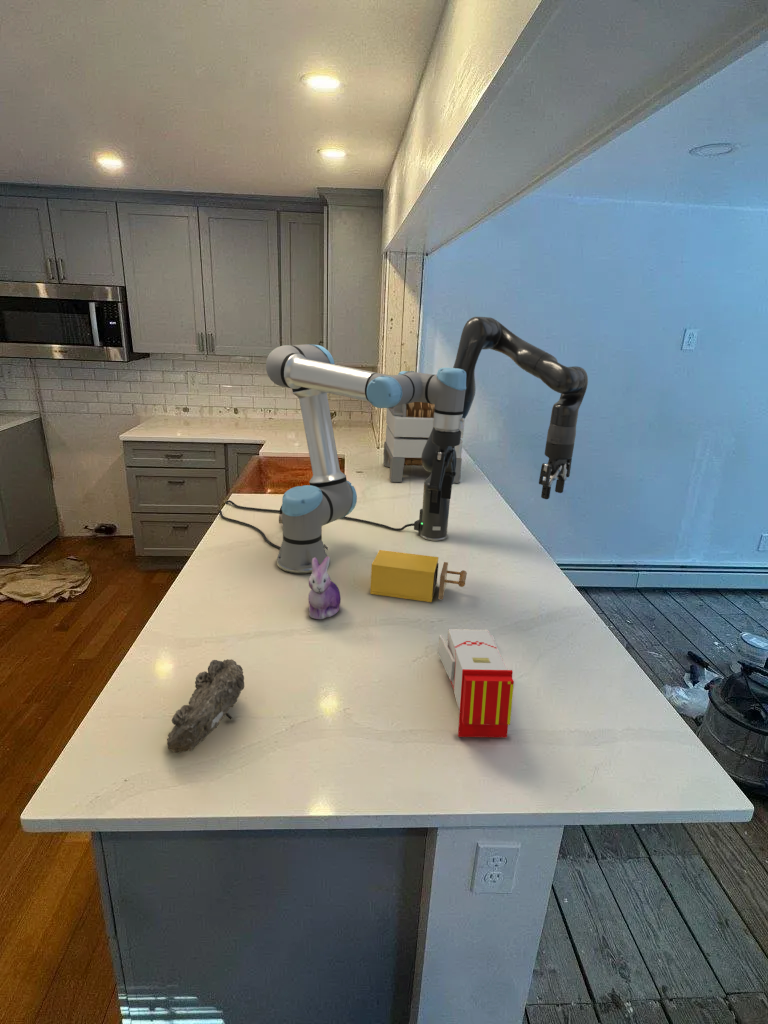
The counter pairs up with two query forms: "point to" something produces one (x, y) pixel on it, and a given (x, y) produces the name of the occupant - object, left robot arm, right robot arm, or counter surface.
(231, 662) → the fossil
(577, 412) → the right robot arm
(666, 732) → the counter surface
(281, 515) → the figurine character
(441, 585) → the drawer
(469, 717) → the toy
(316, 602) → the figurine
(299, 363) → the left robot arm
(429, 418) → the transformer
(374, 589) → the cabinet
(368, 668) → the counter surface
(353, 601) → the counter surface
